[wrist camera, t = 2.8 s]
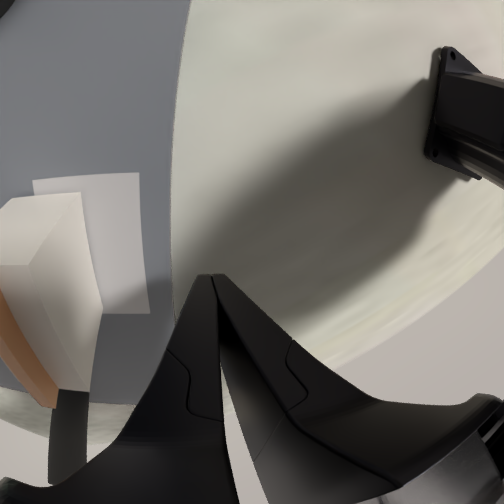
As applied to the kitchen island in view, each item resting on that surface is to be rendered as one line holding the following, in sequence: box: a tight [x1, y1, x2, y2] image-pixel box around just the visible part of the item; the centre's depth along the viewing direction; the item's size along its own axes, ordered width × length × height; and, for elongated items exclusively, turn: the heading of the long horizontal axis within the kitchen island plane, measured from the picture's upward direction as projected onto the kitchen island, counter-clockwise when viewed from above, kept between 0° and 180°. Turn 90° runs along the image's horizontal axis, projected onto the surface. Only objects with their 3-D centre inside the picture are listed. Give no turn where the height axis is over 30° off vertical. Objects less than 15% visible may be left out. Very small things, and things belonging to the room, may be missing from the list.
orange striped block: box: [0, 192, 103, 409], centre depth 6 cm, size 3×5×5 cm, turn 172°
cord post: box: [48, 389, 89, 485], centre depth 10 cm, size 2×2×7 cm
